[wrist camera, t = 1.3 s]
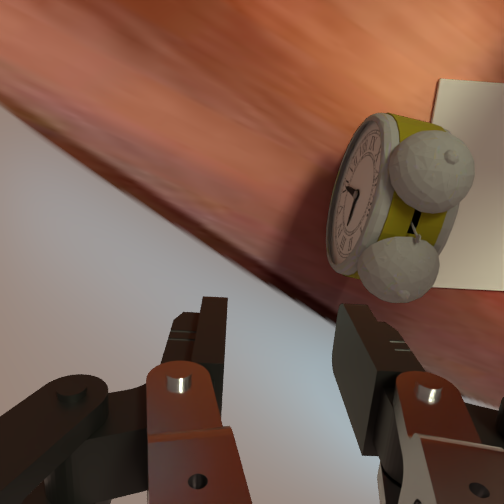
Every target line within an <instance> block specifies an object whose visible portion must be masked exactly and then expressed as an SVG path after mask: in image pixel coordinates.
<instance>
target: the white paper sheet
mask: <svg viewBox="0 0 504 504" xmlns="http://www.w3.org/2000/svg"><path fill="white" fill-rule="evenodd" d="M431 123H432V124H436V125H438V126H441V127H442V128H444V129H447V130H449V131H450V133H451V134H452V135H454V136H456V137H457V138H459V139H460V140H462V141H463V142H464V143H465V145H466V146H467V147H468V149H469V150H470V152H471V154H472V156H473V159H474V164H475V177H474V180H473V184H472V187H471V189H470V190H469V192H468V194H467V195H466V197H465V198H464V199H463V200H462V201H461V202H460V204H459V209H458V213H457V216H456V219H455V222H454V225H453V228H452V230H451V233H450V235H449V238H448V240H447V243H446V245H445V247H444V248H443V250H442V252H441V253H440V255H439V263H440V267H439V273H438V275H437V278H436V281H435V283H434V285H433V286H432V287H440V288H459V289H478V290H497V291H504V83H493V82H480V81H466V80H453V79H439V82H438V88H437V93H436V99H435V104H434V109H433V115H432V120H431Z"/></svg>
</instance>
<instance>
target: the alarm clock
mask: <svg viewBox="0 0 504 504" xmlns="http://www.w3.org/2000/svg"><path fill="white" fill-rule="evenodd" d="M474 177H475V164H474V159H473V156H472V154H471V152H470V150H469V149H468V147H467V146H466V145H465V143H464V142H463V141H462V140H460V139H459V138H457V137H456V136H454V135H452V134H451V133H450V131H449V130H447V129H444V128H442V127H441V126H438V125H436V124H432V123H428V122H424V121H420V120H416V119H412V118H407V117H403V116H399V115H395V114H391V113H376V114H373V115H371V116H369V117H368V118H366V119H365V120H364V122H362V124H361V126H360V127H359V128H358V129H357V131H356V132H355V134H354V136H353V137H352V139H351V141H350V143H349V145H348V148H347V150H346V152H345V155H344V157H343V160H342V162H341V165H340V168H339V171H338V174H337V177H336V181H335V184H334V188H333V192H332V196H331V201H330V206H329V212H328V219H327V226H326V249H327V258H328V261H329V263H330V265H331V267H332V268H333V269H334V270H335V271H336V272H337V273H340V274H342V275H344V276H347V277H351V278H356V279H361V281H362V283H363V285H364V286H365V288H366V289H367V290H368V291H369V292H370V293H372V294H373V295H375V296H376V297H378V298H379V299H381V300H384V301H387V302H391V303H408V302H410V301H413V300H415V299H418V298H420V297H422V296H423V295H424V294H425V293H426V292H427V291H428V290H429V289H430V288H431V287H432V286H433V285H434V283H435V281H436V278H437V275H438V273H439V267H440V263H439V255H440V253H441V252H442V250H443V248H444V247H445V245H446V243H447V240H448V238H449V235H450V233H451V230H452V228H453V225H454V222H455V219H456V216H457V213H458V209H459V204H460V202H461V201H462V200H463V199H464V198H465V197H466V195H467V194H468V192H469V190H470V189H471V187H472V184H473V180H474Z"/></svg>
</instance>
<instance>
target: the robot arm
mask: <svg viewBox="0 0 504 504" xmlns="http://www.w3.org/2000/svg"><path fill="white" fill-rule="evenodd" d="M227 301H228V298H224V297H203V299H202V305H201V310H200V313H193V312H183V313H182V314H180V315H179V316H178V317H177V318H176V319H174V321H173V324H172V327H171V332H170V334H169V337H168V341H167V344H166V347H165V351H164V354H163V358H162V361H161V364H160V365H158V366H156V367H155V368H153V369H152V370H151V371H150V372H149V373H148V375H147V379H146V384H144V385H142V386H139V387H137V388H133V389H129V390H124V391H118V392H112V393H108V387H107V385H106V383H105V382H104V381H103V380H102V379H100V378H98V377H95V376H91V375H82V374H81V375H79V374H78V375H70V376H65V377H61V378H58V379H56V380H53V381H51V382H49V383H48V384H46V385H45V386H43V387H42V388H40V389H39V390H37V391H36V392H35V393H33V394H32V395H30V396H29V397H27V398H26V399H25V400H23V401H22V402H20V403H19V404H18V405H16V406H15V407H13V408H12V409H11V410H9V411H8V412H6V413H5V414H3V415H2V416H0V504H110V503H111V499H114V498H118V497H122V496H126V495H130V494H134V493H138V492H142V491H146V490H147V504H252V501H251V497H250V493H249V490H248V486H247V482H246V479H245V475H244V472H243V468H242V464H241V460H240V457H239V453H238V450H237V446H236V443H235V438H234V435H233V432H232V429H231V427H230V426H224V427H223V425H222V422H221V410H222V392H223V374H224V357H225V356H224V355H225V339H226V338H225V337H226V320H227ZM332 366H333V373H334V375H335V378H336V382H337V384H338V387H339V390H340V393H341V396H342V399H343V401H344V405H345V407H346V410H347V413H348V416H349V419H350V422H351V425H352V428H353V431H354V433H355V436H356V439H357V442H358V445H359V448H360V451H361V453H362V456H363V455H364V456H379V459H380V465H379V470H378V476H377V480H378V489H379V499H380V504H504V397H503V398H502V400H501V404H500V407H499V411H497V410H493V409H489V408H485V407H480V406H476V405H472V404H468V403H465V402H464V401H463V399H462V396H461V394H460V392H459V390H458V389H457V388H456V387H455V386H454V385H453V384H452V383H450V382H449V381H447V380H446V379H444V378H442V377H440V376H437V375H434V374H431V373H428V372H426V371H425V370H424V369H423V367H422V366H421V364H420V363H419V361H418V360H417V358H416V357H415V355H414V354H413V353H412V351H410V348H409V347H408V345H407V344H406V343H405V342H404V339H403V338H402V337H401V335H400V334H399V332H398V331H397V330H395V329H394V328H393V327H391V326H390V325H388V324H387V323H385V322H377V320H376V318H375V317H374V315H373V314H372V312H371V310H370V309H369V307H368V306H367V305H360V304H341V305H340V306H339V310H338V315H337V323H336V331H335V337H334V345H333V351H332Z"/></svg>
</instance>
